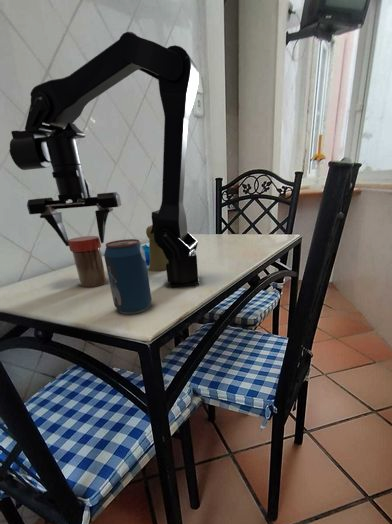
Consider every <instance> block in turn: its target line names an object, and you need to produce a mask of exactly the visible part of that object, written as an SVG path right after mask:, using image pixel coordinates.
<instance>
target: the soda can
mask: <svg viewBox="0 0 392 524" xmlns="http://www.w3.org/2000/svg"><path fill="white" fill-rule="evenodd" d="M103 257H104V262H105V267H106V272H107V276H108V282H109V287H110V291H111V296H112V301H113V305H114V307H115V308H116V309H117V311H118V312H119V313H121V314H125V315H135V314H139V313H143V312H145V311H147V310H148V309H149V308H150V305H151V304H152V293H151V285H150V280H149V273H148V266H147V259H146V253H145V249H144V248H143V246H142V245H141V242H140V239H135V238H130V239H129V238H128V239H127V238H126V239H119V240H118V239H117V240H112V241H109V242H106V243H105V250H104V254H103Z"/></svg>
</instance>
